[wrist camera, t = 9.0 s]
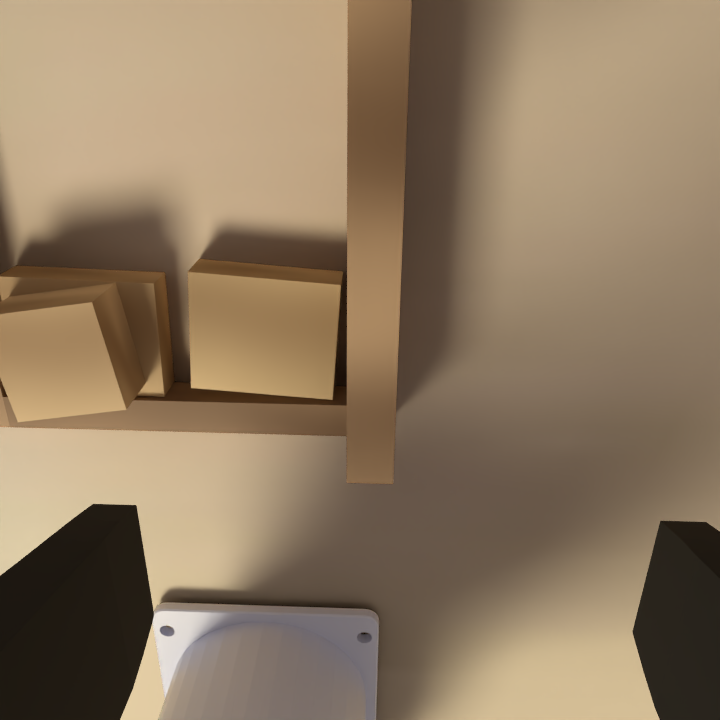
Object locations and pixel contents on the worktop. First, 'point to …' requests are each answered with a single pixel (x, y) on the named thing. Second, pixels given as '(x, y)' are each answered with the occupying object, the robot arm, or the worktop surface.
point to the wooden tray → (364, 282)
